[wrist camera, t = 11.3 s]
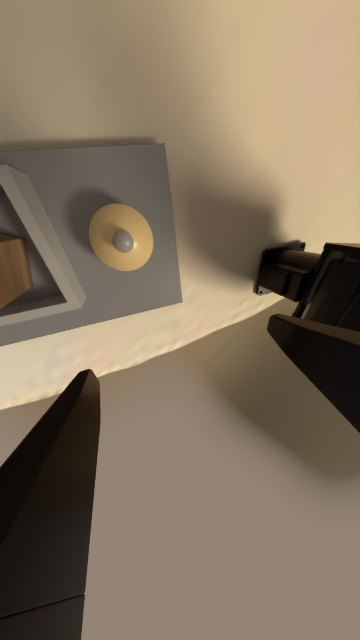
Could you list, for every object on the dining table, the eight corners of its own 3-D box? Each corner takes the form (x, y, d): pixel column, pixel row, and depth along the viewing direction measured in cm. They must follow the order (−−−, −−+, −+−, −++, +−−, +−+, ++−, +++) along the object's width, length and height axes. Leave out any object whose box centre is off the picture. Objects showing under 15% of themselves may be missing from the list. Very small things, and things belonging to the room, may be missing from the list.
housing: (161, 148, 13) (174, 124, 10) (180, 298, 21) (190, 313, 18) (-161, 165, 10) (-304, 138, 6) (5, 340, 17) (-22, 368, 14)
